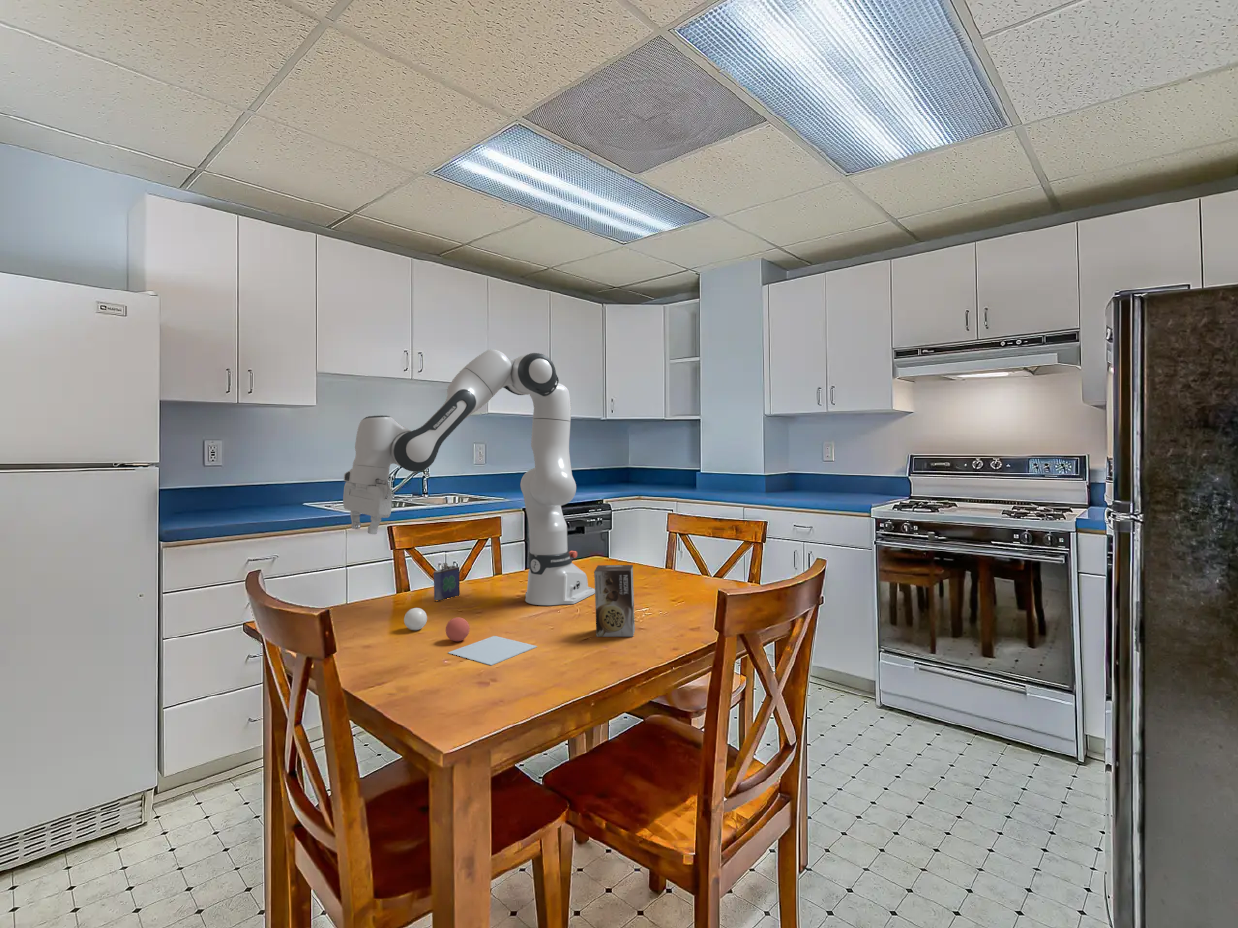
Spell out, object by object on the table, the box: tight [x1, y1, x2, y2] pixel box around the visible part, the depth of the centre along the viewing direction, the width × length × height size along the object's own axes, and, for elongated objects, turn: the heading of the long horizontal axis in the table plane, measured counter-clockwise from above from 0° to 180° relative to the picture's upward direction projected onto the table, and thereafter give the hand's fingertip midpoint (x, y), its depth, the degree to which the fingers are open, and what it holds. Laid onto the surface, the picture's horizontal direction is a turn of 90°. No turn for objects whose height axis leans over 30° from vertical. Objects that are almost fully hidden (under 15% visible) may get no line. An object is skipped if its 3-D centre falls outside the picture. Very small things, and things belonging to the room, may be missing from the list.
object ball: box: [445, 616, 470, 642], centre depth 149 cm, size 6×6×6 cm
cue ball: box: [403, 607, 428, 631], centre depth 159 cm, size 6×6×6 cm
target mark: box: [447, 635, 538, 666], centre depth 142 cm, size 14×14×1 cm
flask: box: [433, 562, 461, 602], centre depth 190 cm, size 9×3×11 cm, turn 146°
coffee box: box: [593, 564, 636, 638], centre depth 153 cm, size 9×6×16 cm
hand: (363, 531), depth 161 cm, fingers open, 8 cm apart
